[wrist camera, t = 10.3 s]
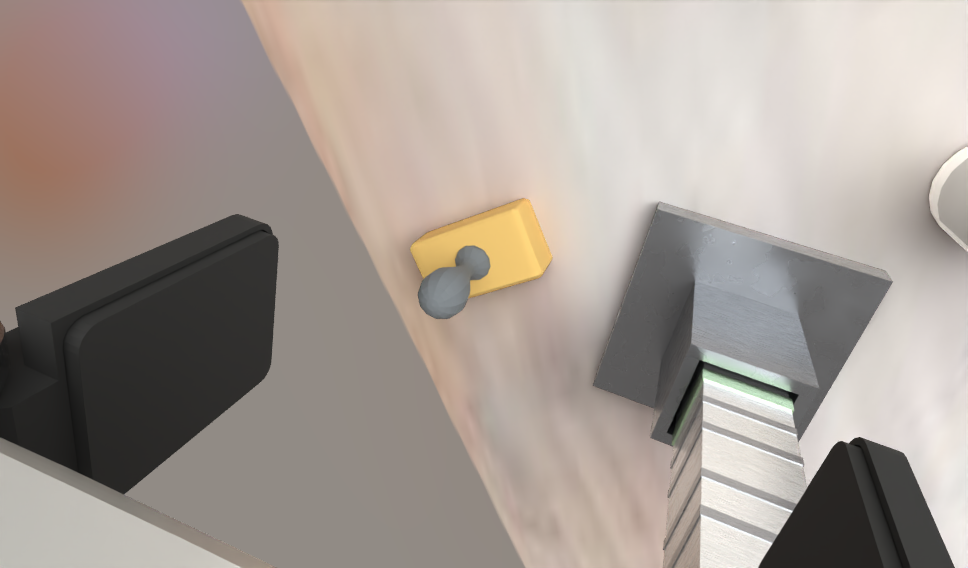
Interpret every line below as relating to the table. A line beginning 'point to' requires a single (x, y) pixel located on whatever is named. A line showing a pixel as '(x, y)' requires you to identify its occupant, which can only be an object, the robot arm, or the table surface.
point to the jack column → (730, 471)
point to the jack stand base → (734, 315)
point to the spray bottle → (952, 197)
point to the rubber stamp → (479, 257)
